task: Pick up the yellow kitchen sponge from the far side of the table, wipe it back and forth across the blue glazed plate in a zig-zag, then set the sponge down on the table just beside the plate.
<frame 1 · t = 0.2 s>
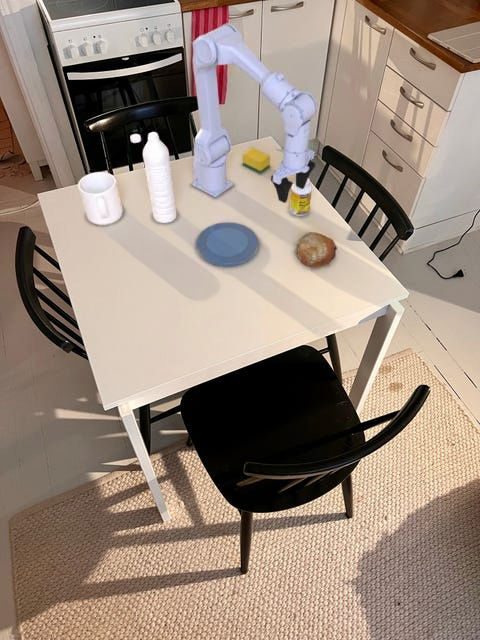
hand: (291, 193, 131), 10 cm above the table, tool pointing down, fingers open, 7 cm apart
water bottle: (161, 217, 141), on the table
supplement bottle: (299, 211, 142), on the table
sponge: (256, 166, 156), on the table
bread roll: (315, 255, 131), on the table
mug: (105, 217, 141), on the table
plate: (227, 245, 133), on the table
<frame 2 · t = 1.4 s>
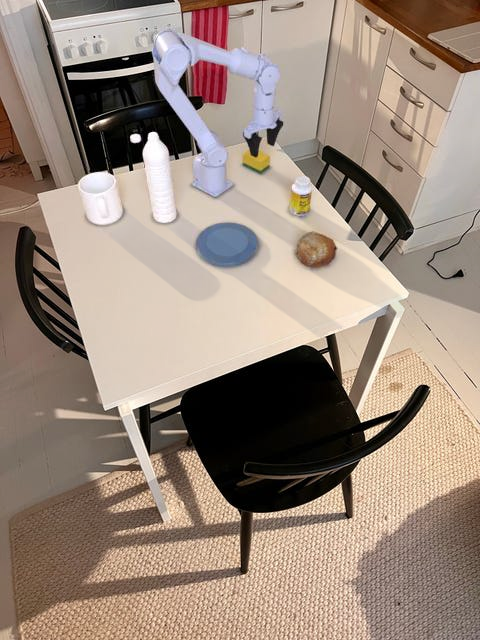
hand: (262, 150, 146), 9 cm above the table, tool pointing down, fingers open, 7 cm apart
nothing on the table moved.
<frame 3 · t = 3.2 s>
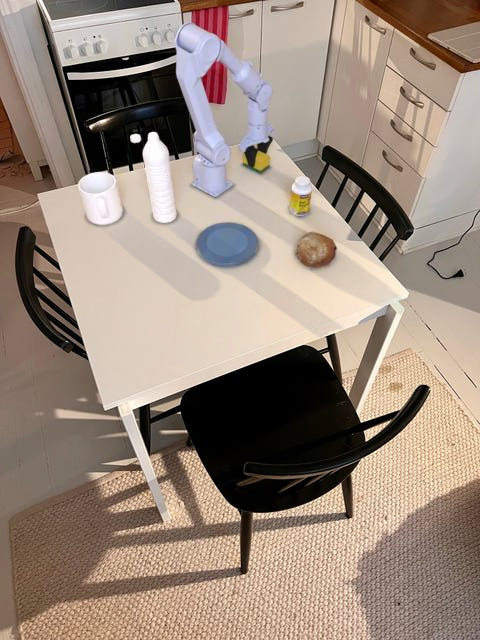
hand: (256, 162, 155), 1 cm above the table, tool pointing down, fingers closed on sponge, 4 cm apart
sponge: (256, 166, 156), on the table, touching gripper
everything else where it was.
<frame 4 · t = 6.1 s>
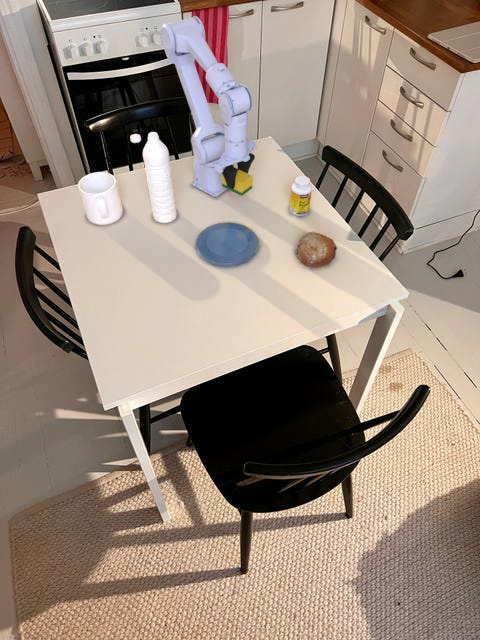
hand: (236, 183, 136), 8 cm above the table, tool pointing down, fingers closed on sponge, 4 cm apart
sponge: (237, 187, 137), point 7 cm above the table, touching gripper
everything else where it was.
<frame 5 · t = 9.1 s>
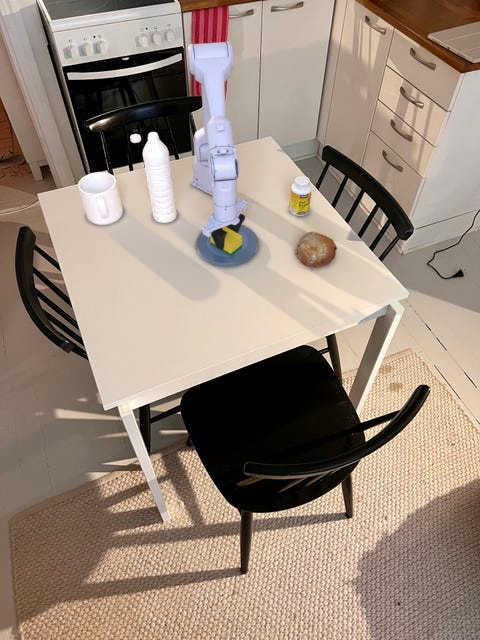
hand: (226, 242, 130), 2 cm above the table, tool pointing down, fingers closed on sponge, 4 cm apart
sponge: (226, 246, 131), point 1 cm above the table, touching gripper, plate
everything else where it was.
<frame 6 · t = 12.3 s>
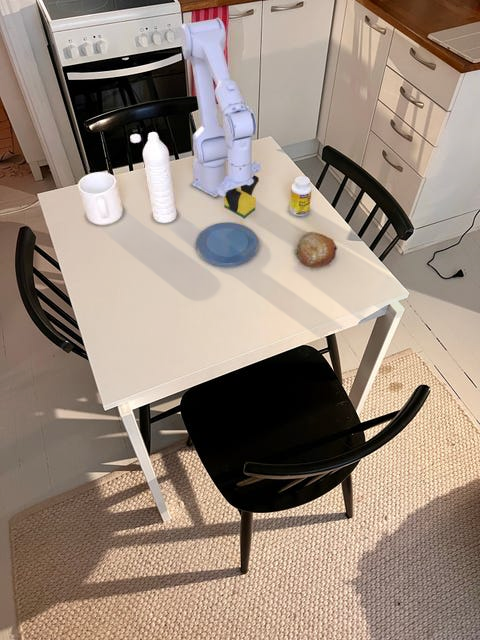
hand: (239, 205, 132), 7 cm above the table, tool pointing down, fingers closed on sponge, 4 cm apart
sponge: (239, 208, 133), point 6 cm above the table, touching gripper
everything else where it was.
when the fingers open (1 cm above the table, at t = 14.9 s): sponge stays where it is, on the table.
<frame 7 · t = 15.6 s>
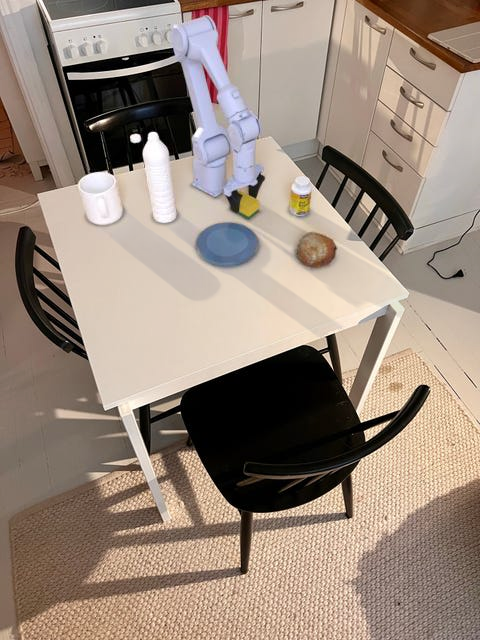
hand: (243, 204, 141), 2 cm above the table, tool pointing down, fingers open, 7 cm apart
sponge: (244, 210, 142), on the table
everything else where it was.
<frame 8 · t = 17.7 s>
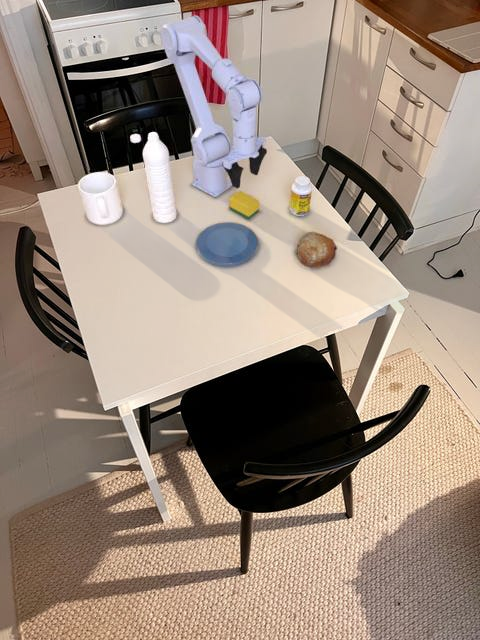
hand: (245, 180, 134), 10 cm above the table, tool pointing down, fingers open, 7 cm apart
nothing on the table moved.
at the end: sponge inside the target area (0.1 cm from its centre), on the table; sponge touching table; sponge tilted 0° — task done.
